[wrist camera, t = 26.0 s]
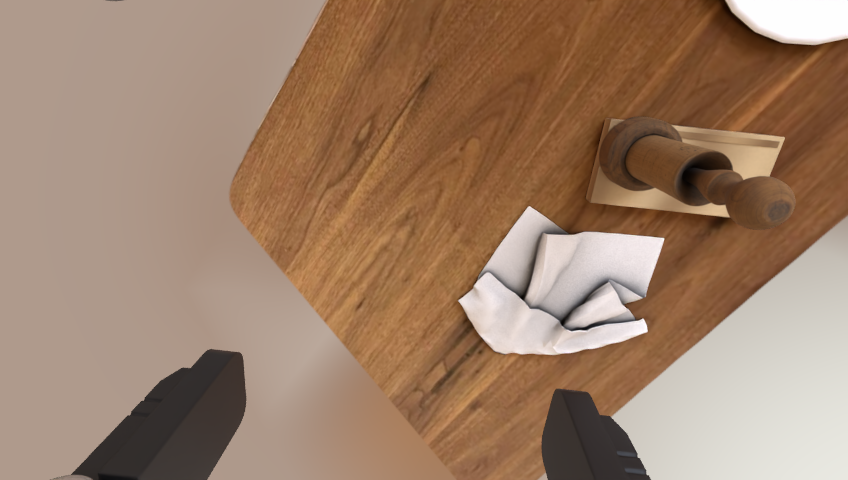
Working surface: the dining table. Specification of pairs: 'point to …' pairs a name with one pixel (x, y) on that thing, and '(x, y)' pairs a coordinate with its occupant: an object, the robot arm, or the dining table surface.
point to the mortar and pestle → (690, 173)
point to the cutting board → (741, 148)
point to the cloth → (560, 288)
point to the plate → (794, 19)
